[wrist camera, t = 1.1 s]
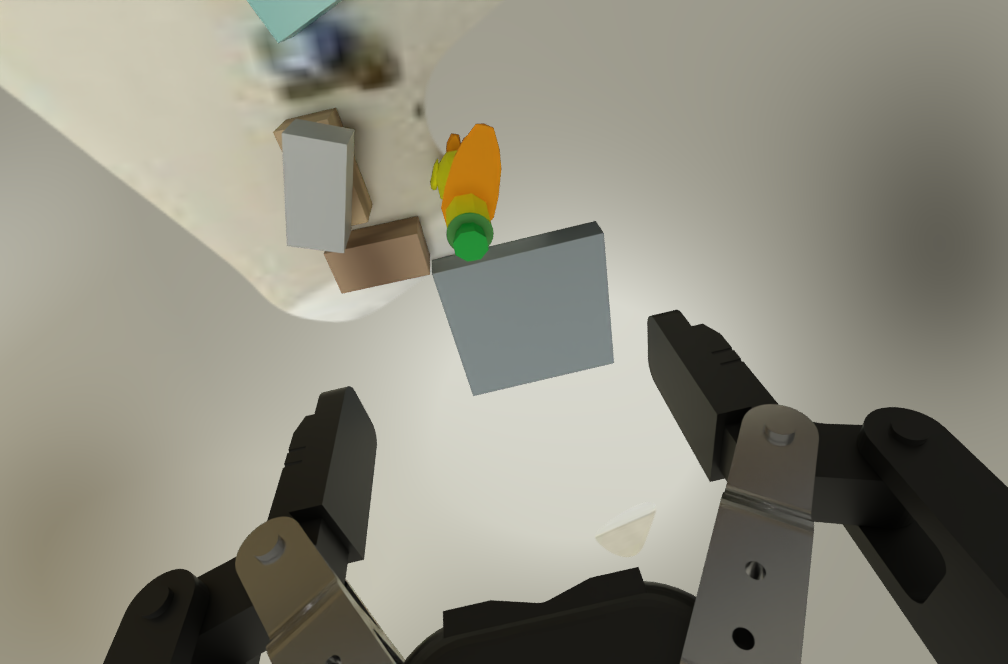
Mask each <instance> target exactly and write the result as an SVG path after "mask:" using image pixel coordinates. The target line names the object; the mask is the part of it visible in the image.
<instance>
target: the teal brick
mask: <svg viewBox="0 0 1008 664" xmlns="http://www.w3.org/2000/svg"><path fill="white" fill-rule="evenodd" d="M247 1H248V3H249V4H250V5H251V7H252V8H253V10H254V11H255V12H256V14H257V15H258V16H259V18H260V19H261V20H262V22H263V23H264V24H265V26H266V27H267V29H268V30H269V31H270V33H271V34H272V35H273V37H274V38H275V39H276V41H277V42H278V43H280V42H283V41H285V40H287V39H290V38H292V37H293V36H295V35H296V34H297V33H299V32H300V31H302V30H303V29H304V28H306V27H307V26H308V25H310V24H311V23H312V22H314V21H315V20H316V19H318V18H319V17H321V16H322V15H323V14H325V13H326V12H327V11H329V10H330V9H331V8H333V7H334V6H335V5H337V4H338V3H340V2H341V1H342V0H247Z"/></svg>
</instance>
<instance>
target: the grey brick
mask: <svg viewBox="0 0 1008 664" xmlns="http://www.w3.org/2000/svg"><path fill="white" fill-rule="evenodd" d="M354 131H355V129H349V128H344V127H338V126H333V125H328V124H322V123H317V122H312V121H306V120H301V119H295V120H294V121H293V122H292V123H291V124H290V125H289V126H288V127H287V128H286V129H285V130H284V131H283V132H282V150H283V172H284V193H285V214H286V236H287V246H291V247H298V248H306V249H314V250H321V251H329V252H337V253H344V252H345V249H346V245H347V242H348V239H349V236H350V233H351V217H352V188H353V160H354Z"/></svg>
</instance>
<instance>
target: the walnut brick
mask: <svg viewBox="0 0 1008 664" xmlns="http://www.w3.org/2000/svg"><path fill="white" fill-rule="evenodd" d="M324 255H325V258H326V260H327V262H328V264H329V266H330V269H331V271H332V273H333V275H334V277H335V280H336V282H337V284H338V286H339V288H340V291H341V293H347V292H351V291H356V290H361V289H365V288H370V287H374V286H379V285H384V284H388V283H393V282H397V281H402V280H407V279H411V278H416V277H420V276H425V275H430V254H429V251H428V247H427V244H426V241H425V237H424V234H423V231H422V227H421V224H420V221H419V218H418V216H416V217H411V218H407V219H402V220H397V221H393V222H388V223H384V224H379V225H374V226H370V227H365V228H361V229H356V230H351V233H350V236H349V239H348V242H347V245H346V249H345V252H344V253H337V252H329V251H325V252H324Z"/></svg>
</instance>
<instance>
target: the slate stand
mask: <svg viewBox="0 0 1008 664" xmlns="http://www.w3.org/2000/svg"><path fill="white" fill-rule="evenodd" d="M488 248H489V250H488V251H487V252H486V254H485V255H484V256H483V257H482V259H480V260H475V261H469V262H467V261H465V260H463V259H461V258H460V257H458V256H456V255H452V256H448V257H444V258H440V259H436V260H432V275H433V278H434V281H435V284H436V287H437V290H438V293H439V296H440V299H441V302H442V305H443V307H444V310H445V313H446V316H447V319H448V323H449V326H450V328H451V331H452V334H453V337H454V340H455V343H456V346H457V349H458V352H459V355H460V358H461V361H462V364H463V367H464V370H465V372H466V376H467V379H468V382H469V385H470V388H471V391H472V394H473V396H475V395H479V394H484V393H488V392H492V391H497V390H501V389H505V388H510V387H514V386H518V385H522V384H526V383H531V382H535V381H539V380H544V379H548V378H552V377H556V376H560V375H565V374H569V373H574V372H578V371H582V370H586V369H590V368H595V367H599V366H604V365H608V364H612V363H614V359H613V345H612V332H611V319H610V307H609V295H608V281H607V269H606V256H605V244H604V233H603V231H602V230H601V228H600V227H599V226H598V224H597V223H596V221H594V222H590V223H585V224H582V225H577V226H573V227H569V228H565V229H561V230H556V231H552V232H548V233H544V234H540V235H536V236H531V237H527V238H523V239H519V240H515V241H511V242H507V243H503V244H498V245H494V246H490V247H488Z"/></svg>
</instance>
